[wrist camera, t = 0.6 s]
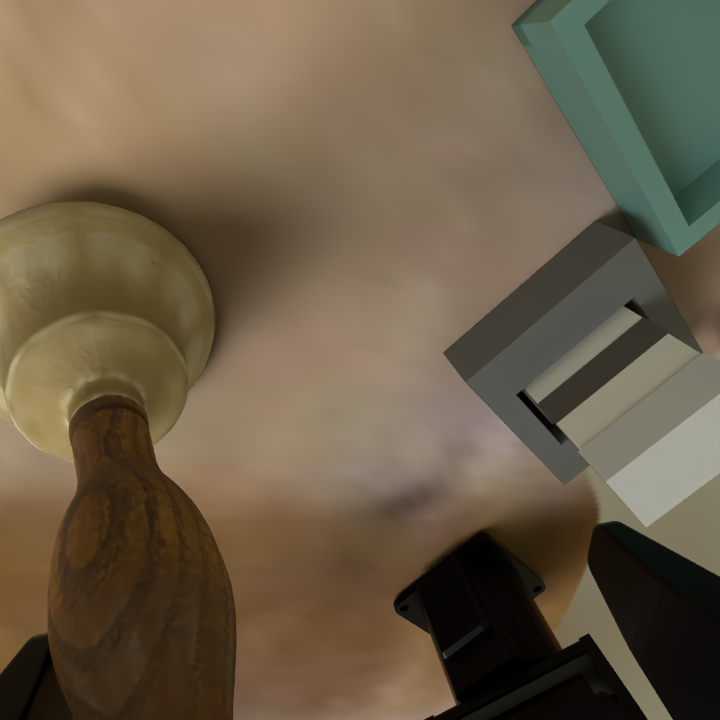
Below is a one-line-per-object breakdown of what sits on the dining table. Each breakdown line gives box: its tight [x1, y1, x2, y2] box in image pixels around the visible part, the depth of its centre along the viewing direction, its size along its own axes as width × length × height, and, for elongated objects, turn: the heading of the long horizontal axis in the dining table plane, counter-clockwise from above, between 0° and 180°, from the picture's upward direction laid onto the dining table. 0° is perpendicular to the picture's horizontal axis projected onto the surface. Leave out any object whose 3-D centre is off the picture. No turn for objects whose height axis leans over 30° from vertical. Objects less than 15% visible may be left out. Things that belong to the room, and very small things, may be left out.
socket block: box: [444, 221, 703, 484], centre depth 24 cm, size 8×8×2 cm
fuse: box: [522, 306, 720, 527], centre depth 22 cm, size 3×5×8 cm, turn 131°
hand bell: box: [0, 201, 237, 720], centre depth 13 cm, size 8×8×16 cm
